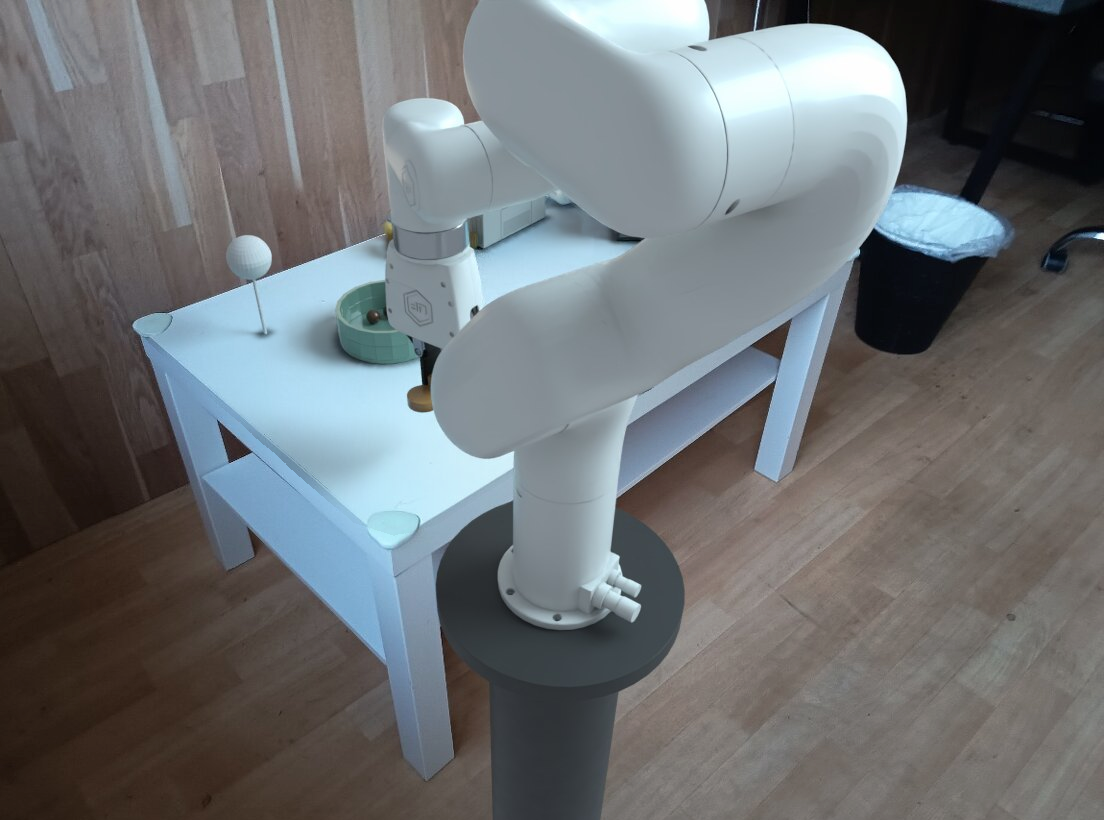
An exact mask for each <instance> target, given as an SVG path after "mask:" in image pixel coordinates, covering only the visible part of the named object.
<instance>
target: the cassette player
mask: <svg viewBox="0 0 1104 820" xmlns="http://www.w3.org/2000/svg"><path fill="white" fill-rule="evenodd" d="M546 198H547V195H546V196H543V197H541V198H538V199H535V200H532V201H528V202H525V203H521V204H517V205H513V206H509V207H505V208H502V209H498V210H495V211H491V212H487V213H484V214H482V215H478V216H475V217H471V224H472V232H476V234H477V238H478V245H477V247H480V248H481V249H486V248H488V247H490V246H491V245H494V244H496V243H497V242H499V241H501V240H503V239H506V238H507V237H510V236H511V235H513V234H515V233H517V232H519V231H521V230H523V229H525V228H527V227H529V226H531V225H533V224H534V223H537V222H539V221H540V220H543V219H544V218H546V204H547V203H546Z"/></svg>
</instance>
